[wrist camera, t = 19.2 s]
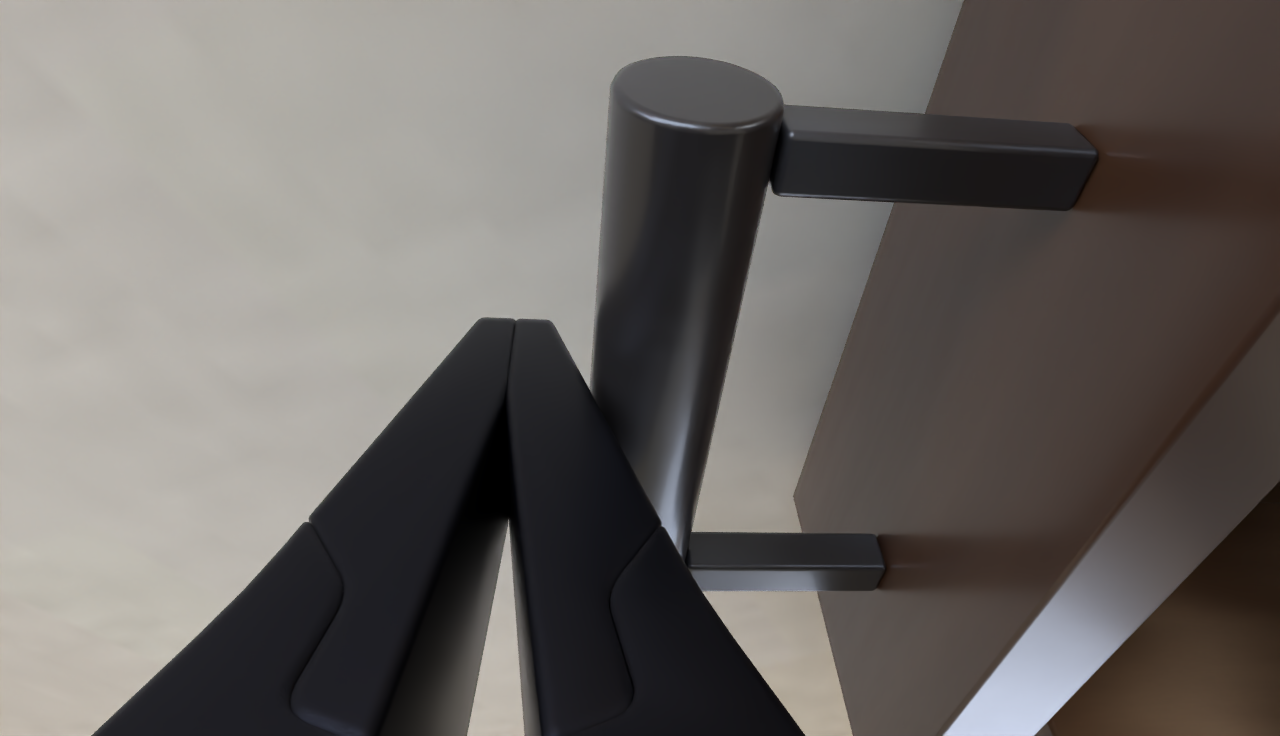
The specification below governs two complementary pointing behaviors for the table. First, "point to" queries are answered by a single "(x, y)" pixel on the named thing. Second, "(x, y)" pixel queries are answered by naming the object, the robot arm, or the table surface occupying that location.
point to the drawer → (992, 364)
